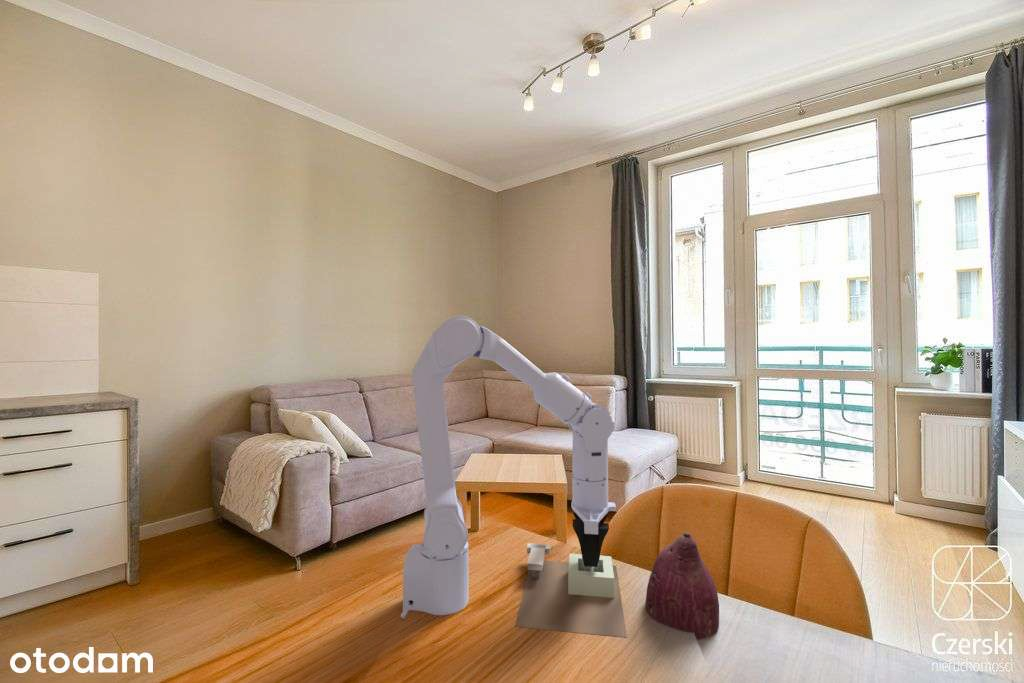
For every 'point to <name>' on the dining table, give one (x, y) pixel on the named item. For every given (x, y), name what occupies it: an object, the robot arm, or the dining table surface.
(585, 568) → the pin
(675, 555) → the vegetable
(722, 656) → the dining table surface
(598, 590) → the square hollow frame
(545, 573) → the board
